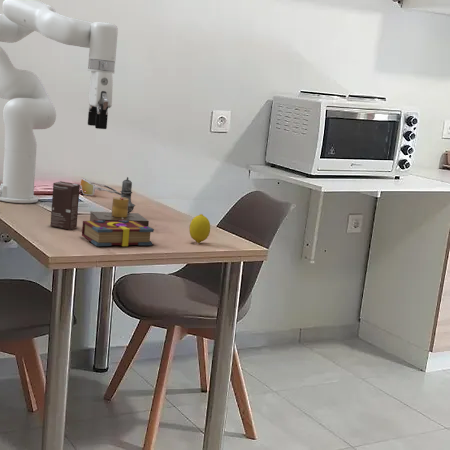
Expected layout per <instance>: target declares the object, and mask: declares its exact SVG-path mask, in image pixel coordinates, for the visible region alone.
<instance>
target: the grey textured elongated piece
mask: <svg viewBox="0 0 450 450" xmlns="http://www.w3.org/2000/svg"><path fill="white" fill-rule="evenodd" d="M132 186H133V182H132V181H131V180H130V178H129V177H128V176H126V179H124V180H123V181H122V183H121V190H120V192H119V193H121V195H120V197H123V198H128V199H129V202H128V213H133V211H134V208H135V206H136V204H134V203H133V202H132V194H133V192H132V189H133V187H132Z"/></svg>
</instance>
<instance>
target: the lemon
mask: <svg viewBox="0 0 450 450" xmlns="http://www.w3.org/2000/svg"><path fill="white" fill-rule="evenodd" d="M188 232H189V235H190V237H191V239H192V240H193V241H195V242H196V243H197V244H201V242H203V241H206V240H207V239H208V238H209V236H210V233H211V222H210V220H209V218H207V217H206V216H205V215H204V214H203V213H199V215H196V216H194V217H193V218H192V219H191V221H190V224H189V231H188Z"/></svg>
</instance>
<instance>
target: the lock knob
mask: <svg viewBox="0 0 450 450" xmlns="http://www.w3.org/2000/svg"><path fill="white" fill-rule="evenodd" d="M128 202H129V199H128V198H123V197H121V196H114V197H112V205H111V212H112V216H114V217H121V218H124V217H127V214H128Z"/></svg>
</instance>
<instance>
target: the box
mask: <svg viewBox="0 0 450 450" xmlns="http://www.w3.org/2000/svg"><path fill="white" fill-rule="evenodd" d="M80 185H81V184H79V183H73V182H67V181H56V182H53V184H52V196H51V197H52V199H51V211H50V212H51V213H50V227H54V228H60V229H64V230H75V229H76V228H78V216H79V215H78V213H79V204H80V203H79V202H80V192H81V191H80Z"/></svg>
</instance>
